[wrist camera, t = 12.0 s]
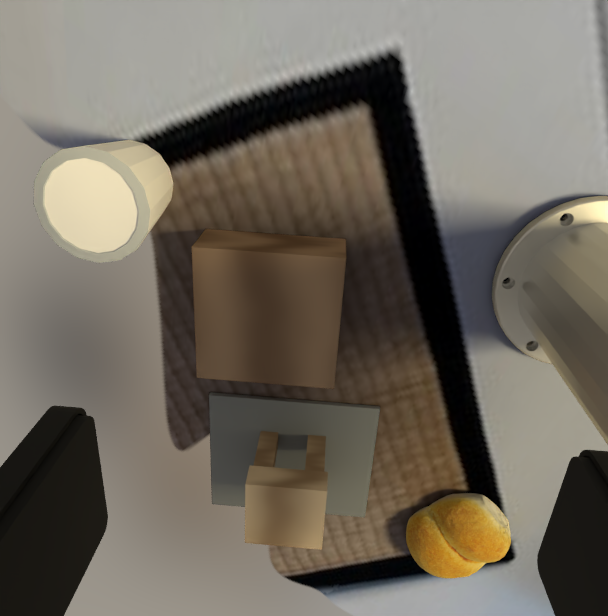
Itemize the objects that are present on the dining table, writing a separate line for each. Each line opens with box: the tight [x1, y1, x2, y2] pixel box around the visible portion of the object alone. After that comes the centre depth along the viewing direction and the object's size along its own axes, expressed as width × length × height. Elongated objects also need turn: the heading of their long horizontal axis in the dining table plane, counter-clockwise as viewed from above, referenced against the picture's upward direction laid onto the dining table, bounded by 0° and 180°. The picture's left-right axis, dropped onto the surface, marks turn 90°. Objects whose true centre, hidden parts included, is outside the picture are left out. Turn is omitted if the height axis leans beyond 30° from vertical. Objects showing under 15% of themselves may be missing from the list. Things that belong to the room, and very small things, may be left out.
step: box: [192, 229, 346, 389], centre depth 38 cm, size 10×10×4 cm
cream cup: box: [34, 140, 173, 263], centre depth 34 cm, size 7×7×7 cm
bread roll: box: [406, 493, 511, 578], centre depth 47 cm, size 8×9×4 cm
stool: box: [245, 431, 328, 550], centre depth 43 cm, size 6×6×6 cm
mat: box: [209, 392, 380, 517], centre depth 46 cm, size 14×12×1 cm
